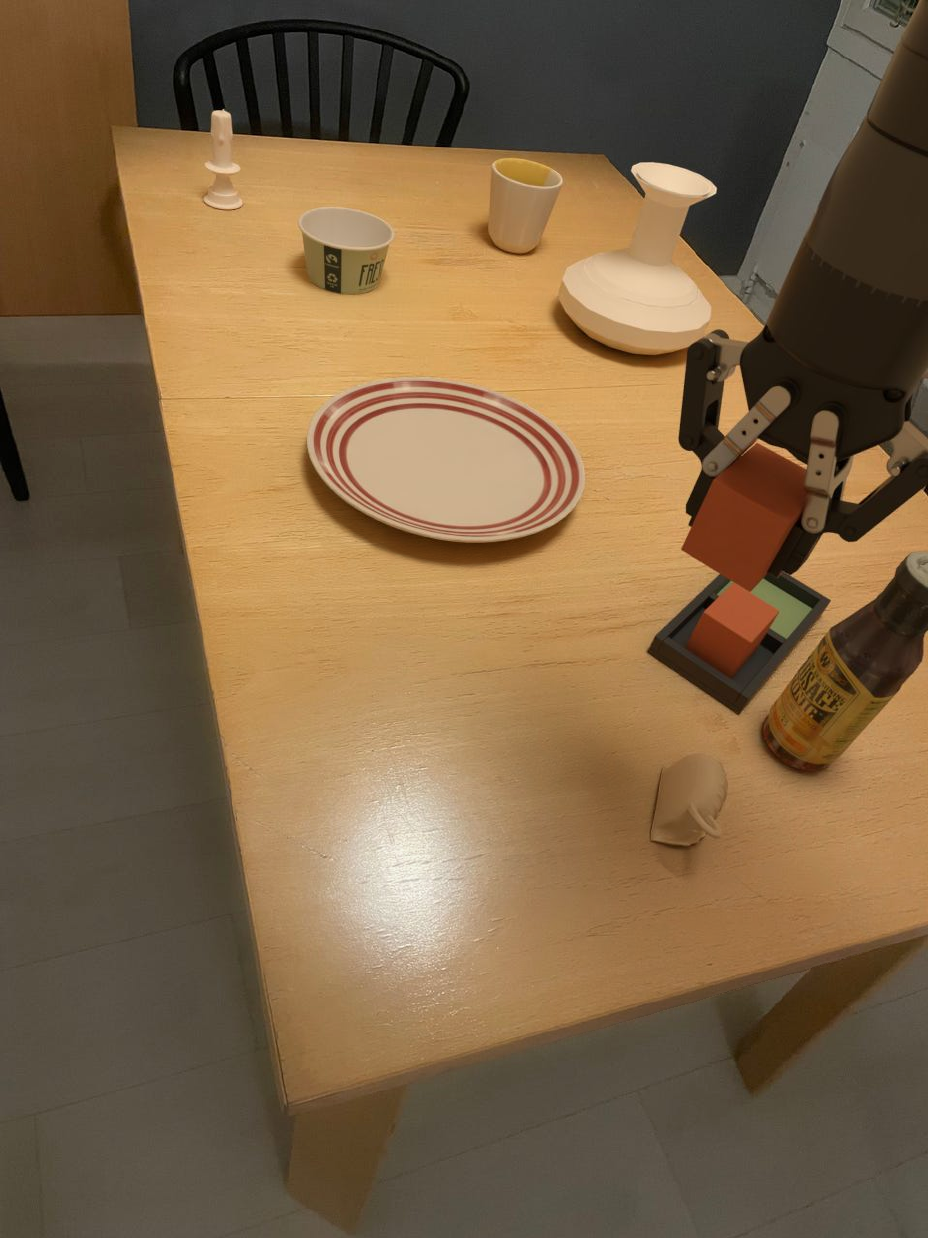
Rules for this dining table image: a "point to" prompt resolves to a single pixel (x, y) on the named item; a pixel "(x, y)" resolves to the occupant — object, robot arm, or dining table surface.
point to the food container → (344, 248)
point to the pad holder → (782, 637)
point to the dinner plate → (445, 459)
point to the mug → (521, 203)
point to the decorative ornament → (689, 800)
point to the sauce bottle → (852, 672)
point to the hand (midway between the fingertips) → (739, 545)
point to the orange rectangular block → (731, 629)
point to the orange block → (748, 516)
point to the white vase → (643, 274)
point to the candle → (222, 164)
